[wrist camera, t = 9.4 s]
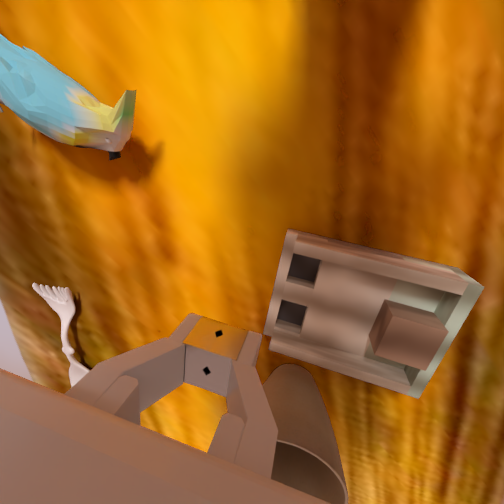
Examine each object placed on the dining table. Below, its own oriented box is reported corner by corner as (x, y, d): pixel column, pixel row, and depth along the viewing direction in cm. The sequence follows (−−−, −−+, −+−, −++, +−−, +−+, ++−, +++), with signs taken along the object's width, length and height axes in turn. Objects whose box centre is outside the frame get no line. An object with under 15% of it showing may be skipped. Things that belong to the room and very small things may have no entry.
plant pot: (318, 424, 45) (318, 546, 31) (244, 390, 47) (210, 489, 33) (353, 367, 40) (373, 483, 25) (267, 331, 42) (238, 419, 27)
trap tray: (288, 228, 35) (283, 238, 30) (457, 268, 31) (484, 287, 26) (266, 324, 41) (258, 346, 36) (405, 367, 37) (418, 398, 32)
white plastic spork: (80, 281, 50) (64, 289, 46) (110, 400, 60) (99, 413, 57) (46, 277, 52) (28, 284, 49) (81, 392, 62) (68, 405, 59)
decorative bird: (131, 188, 40) (81, 194, 31) (-17, 83, 40) (-106, 60, 32) (164, 104, 34) (113, 83, 26) (-8, -17, 35) (-114, -77, 26)
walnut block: (384, 298, 32) (392, 315, 29) (433, 312, 31) (448, 331, 28) (368, 335, 35) (374, 354, 31) (414, 348, 34) (425, 371, 30)
